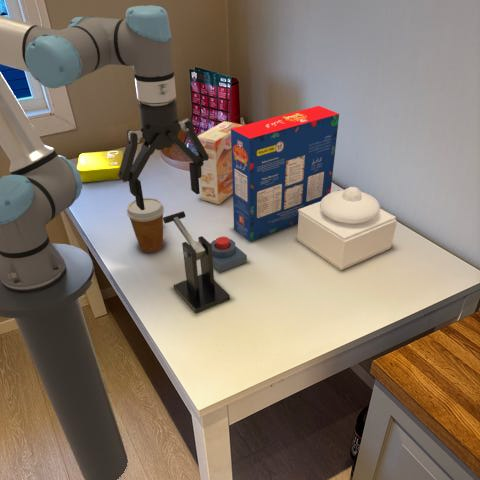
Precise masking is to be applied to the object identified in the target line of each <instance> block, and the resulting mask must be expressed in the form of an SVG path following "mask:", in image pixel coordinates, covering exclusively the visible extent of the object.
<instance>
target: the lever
mask: <svg viewBox="0 0 480 480" xmlns="http://www.w3.org/2000/svg"><path fill="white" fill-rule="evenodd" d="M185 218H186V213H185V211H184V210H182V211H179V212H176V213H172V214H169V215H166V216H163V224H168V223H169V224H170V223H172V222H173V223H174V225H175V226H176V227H177V229H178V230H179V232H180V234H182V236H183V238H184V239H185V241H186V242H187V243H188V244H189V245H190V246H191V247H192V248H193V249H194V250H195V251H196V261H198V260H200V259H201V258H204V256H205V249H204V248H203V246H202V245H201V243H200V242H199V241H195V240H194V238H193V236H191V234H190V232H189V231H188V230H187V228H186V227H185V225H184V224H183V223H182V221H181V219H185Z"/></svg>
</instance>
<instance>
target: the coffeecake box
mask: <svg viewBox="0 0 480 480" xmlns="http://www.w3.org/2000/svg"><path fill="white" fill-rule="evenodd" d="M243 125H244V124H240V123H236V122H230V121H227V120H223V121H222V122H220V123H218V124H217V125H215V126H213V127H211V128H209V129H207V130H206V131H204V132H202V133H200V134H199V135H197V137H198V138H199V140H200V142H201V144H202V145H203V147H204V149H205V151H206V153H207V154H208V156H209V159H208V160H207V161H206V160H205V161H203V163H204V164H203V166H201V172H202V176H201V178H199V190H200V200H202V201H207V202H209V203H212V204H216V205H220V204H221V203H222V202H224V201H225V200H226V199H228V198H229V197H231V196H233V181H232V150H231V129H232V128H235V127H239V126H243Z"/></svg>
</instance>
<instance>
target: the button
mask: <svg viewBox="0 0 480 480" xmlns="http://www.w3.org/2000/svg"><path fill="white" fill-rule="evenodd" d="M229 239H230V238H229V237H227V236H218V237H217V238H216V239H214V240H215V245H216V248H217V249H220V250H224V249H228V248H229V247H230V240H229Z"/></svg>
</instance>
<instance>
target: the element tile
mask: <svg viewBox="0 0 480 480" xmlns="http://www.w3.org/2000/svg"><path fill="white" fill-rule="evenodd" d="M123 155H124V152H123V150H120V149H117V150H116V149H115V150H105V151H104V150H103V151H94V152H82V153H81V154H79V155H78V159H77V164H76V168H77V169H78V171H79V173H80V176H81V180H82V183H94V182H104V181H114V180H116V181H117V180H122V179H121V178H120V177H119V176H118V173H119V170H120V166H121V162H122V159H123Z"/></svg>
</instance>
